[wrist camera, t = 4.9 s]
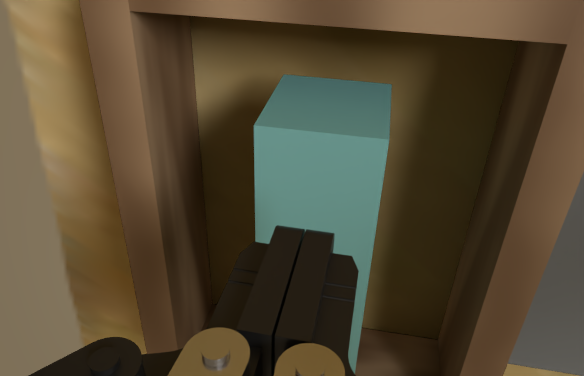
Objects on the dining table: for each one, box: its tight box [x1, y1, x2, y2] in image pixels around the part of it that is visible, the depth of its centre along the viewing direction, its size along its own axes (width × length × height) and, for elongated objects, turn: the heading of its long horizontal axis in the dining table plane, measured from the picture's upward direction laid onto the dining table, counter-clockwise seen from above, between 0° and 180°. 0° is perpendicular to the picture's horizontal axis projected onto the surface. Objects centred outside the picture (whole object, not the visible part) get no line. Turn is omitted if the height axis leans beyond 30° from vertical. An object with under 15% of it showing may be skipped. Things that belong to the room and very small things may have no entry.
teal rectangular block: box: [254, 75, 392, 374], centre depth 21 cm, size 4×14×5 cm, turn 178°
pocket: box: [79, 0, 584, 376], centre depth 23 cm, size 18×23×5 cm
